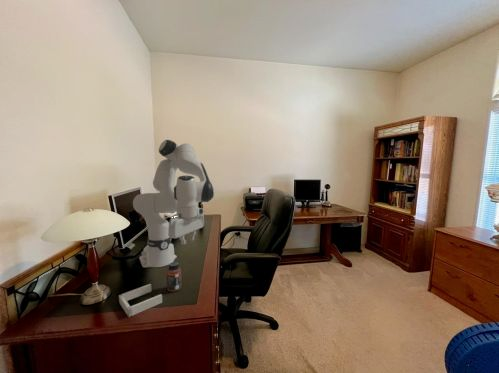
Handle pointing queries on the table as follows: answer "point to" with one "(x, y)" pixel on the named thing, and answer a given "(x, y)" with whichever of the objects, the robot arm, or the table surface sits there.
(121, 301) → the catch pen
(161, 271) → the table surface
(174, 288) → the supplement bottle
